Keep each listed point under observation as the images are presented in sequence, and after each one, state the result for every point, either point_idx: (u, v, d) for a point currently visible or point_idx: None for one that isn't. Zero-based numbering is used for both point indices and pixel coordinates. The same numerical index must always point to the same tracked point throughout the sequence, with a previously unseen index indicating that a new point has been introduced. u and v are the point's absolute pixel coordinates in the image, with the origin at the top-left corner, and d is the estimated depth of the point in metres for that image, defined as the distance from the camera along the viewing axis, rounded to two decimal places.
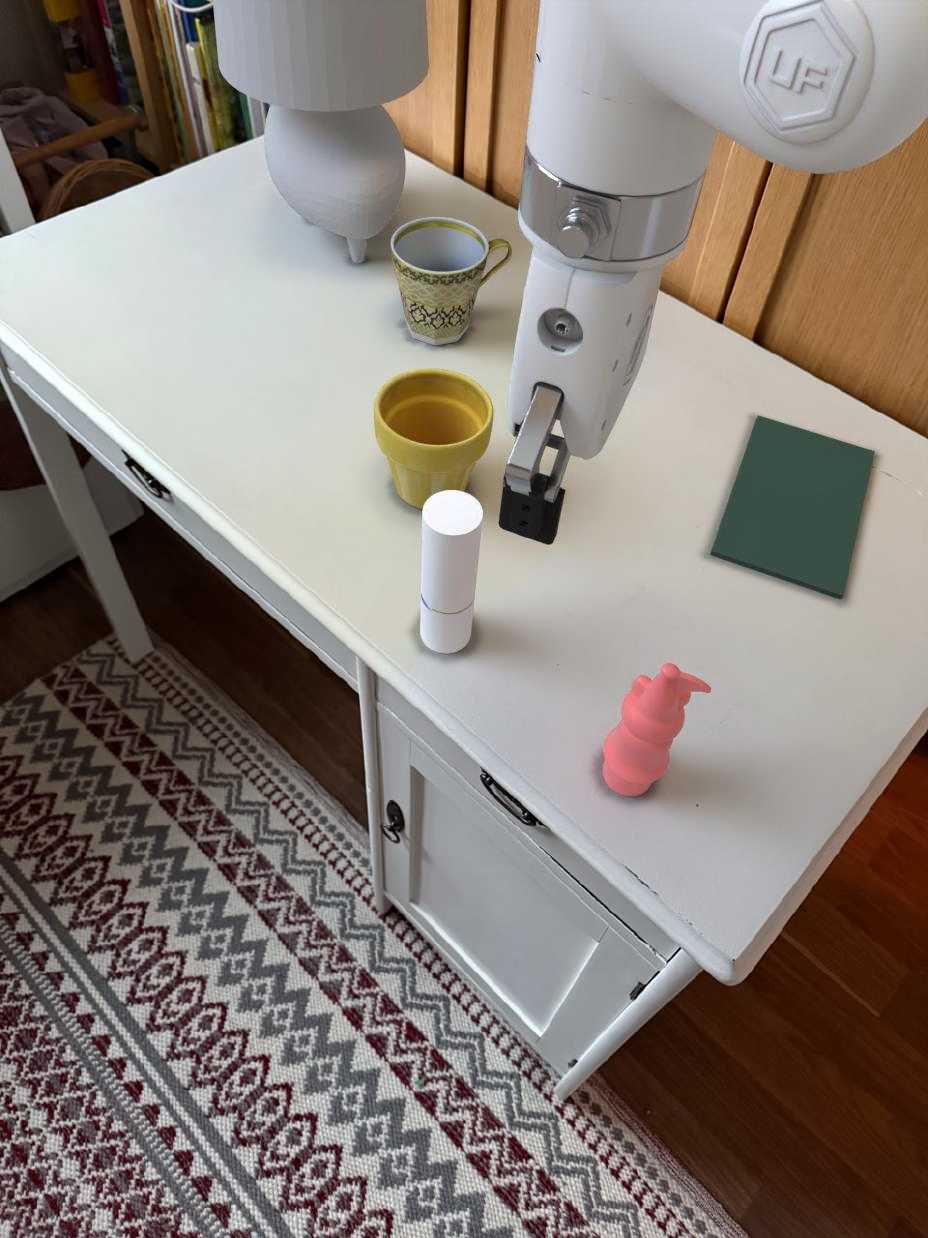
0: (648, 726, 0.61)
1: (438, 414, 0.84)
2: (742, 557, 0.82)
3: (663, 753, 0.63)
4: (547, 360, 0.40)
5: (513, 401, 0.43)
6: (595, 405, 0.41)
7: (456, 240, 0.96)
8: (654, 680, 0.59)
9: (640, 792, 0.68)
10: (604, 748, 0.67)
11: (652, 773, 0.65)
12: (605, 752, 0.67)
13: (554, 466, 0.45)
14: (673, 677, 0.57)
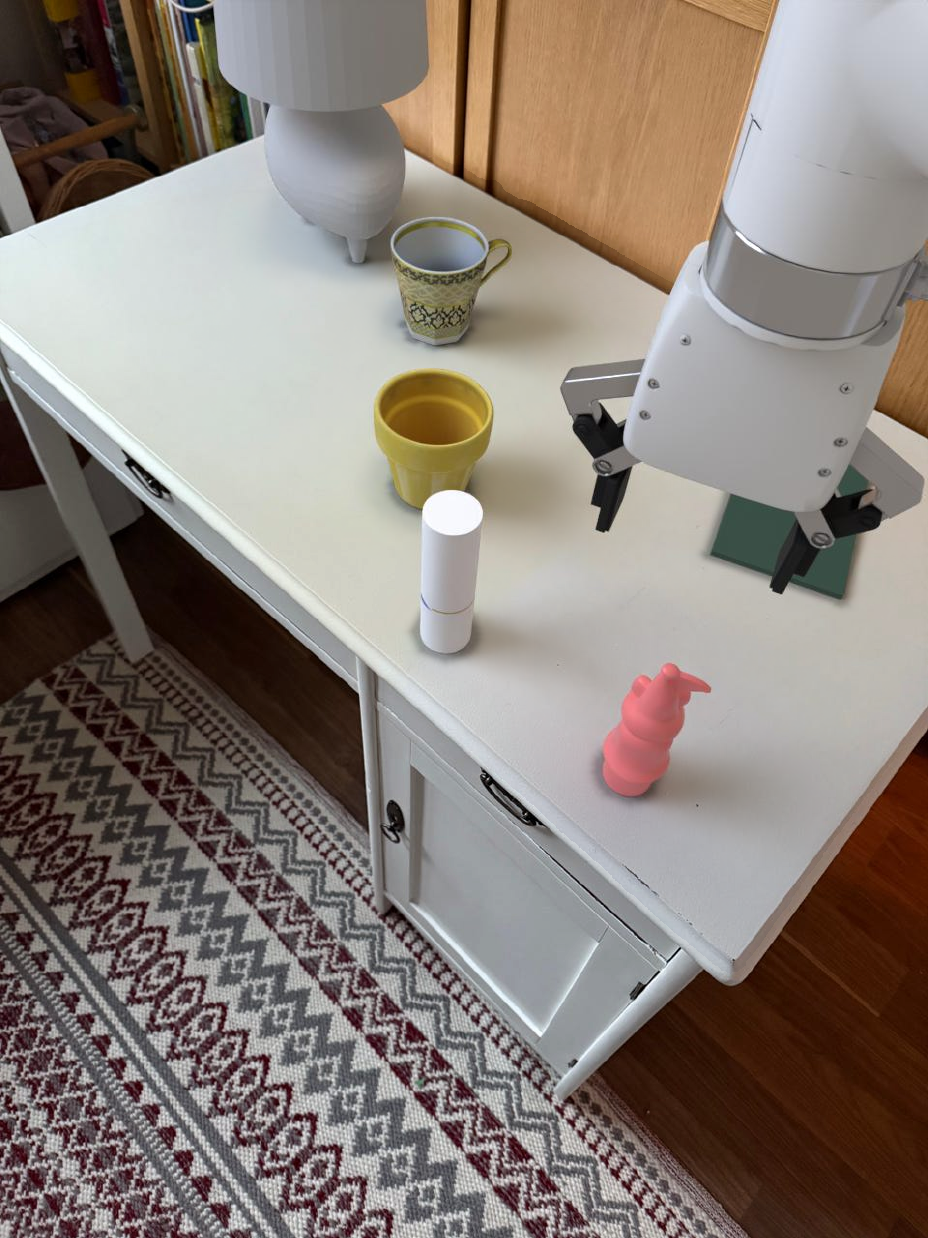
0: (648, 726, 0.61)
1: (438, 414, 0.84)
2: (742, 557, 0.82)
3: (663, 753, 0.63)
4: None
5: (840, 478, 0.40)
6: None
7: (456, 240, 0.96)
8: (654, 680, 0.59)
9: (640, 792, 0.68)
10: (604, 748, 0.67)
11: (652, 773, 0.65)
12: (605, 752, 0.67)
13: None
14: (673, 677, 0.57)
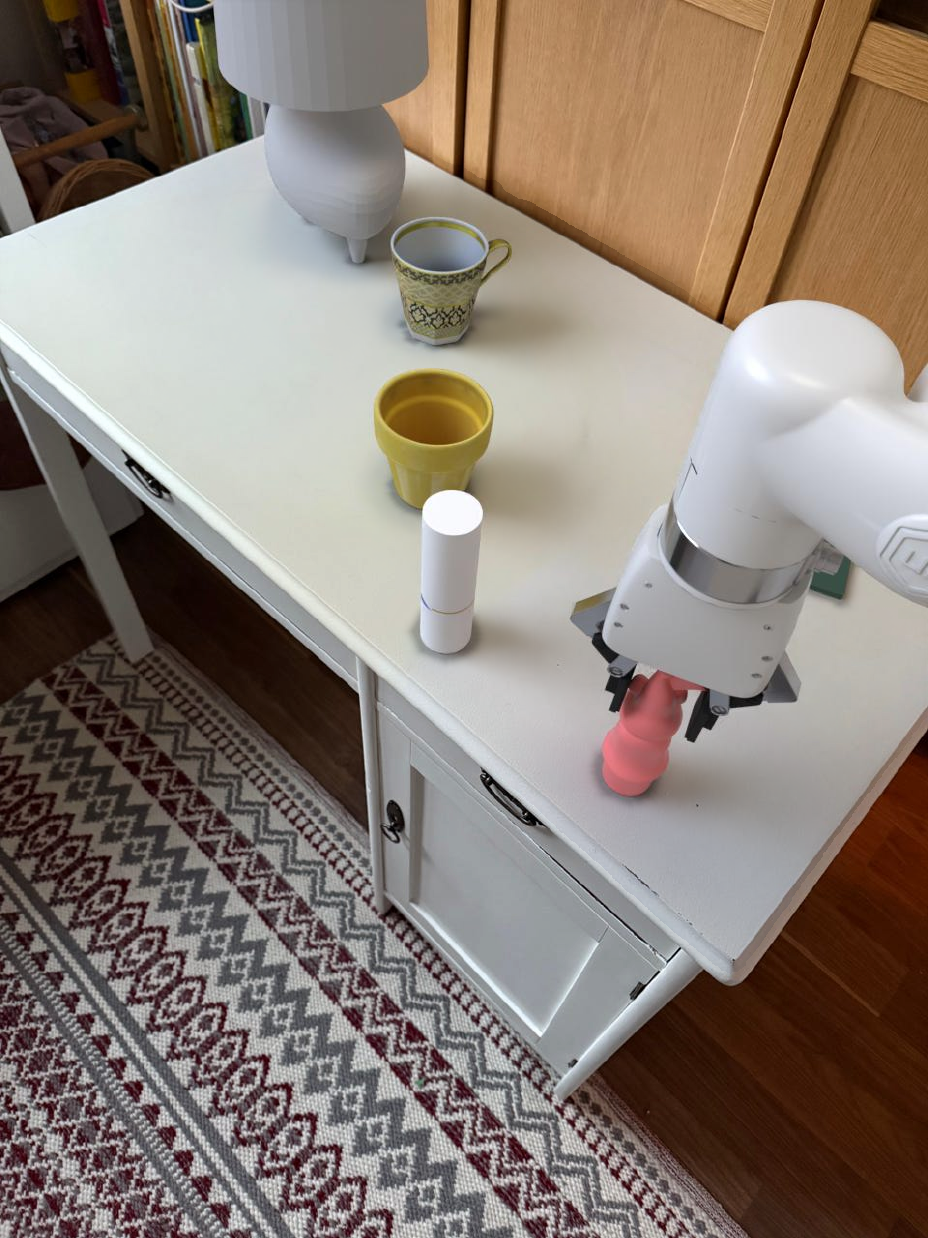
0: (645, 725, 0.61)
1: (438, 414, 0.84)
2: None
3: (661, 752, 0.63)
4: None
5: (769, 678, 0.52)
6: None
7: (456, 240, 0.96)
8: (650, 679, 0.59)
9: (640, 791, 0.68)
10: (603, 748, 0.67)
11: (651, 772, 0.65)
12: (604, 751, 0.67)
13: None
14: (669, 675, 0.57)
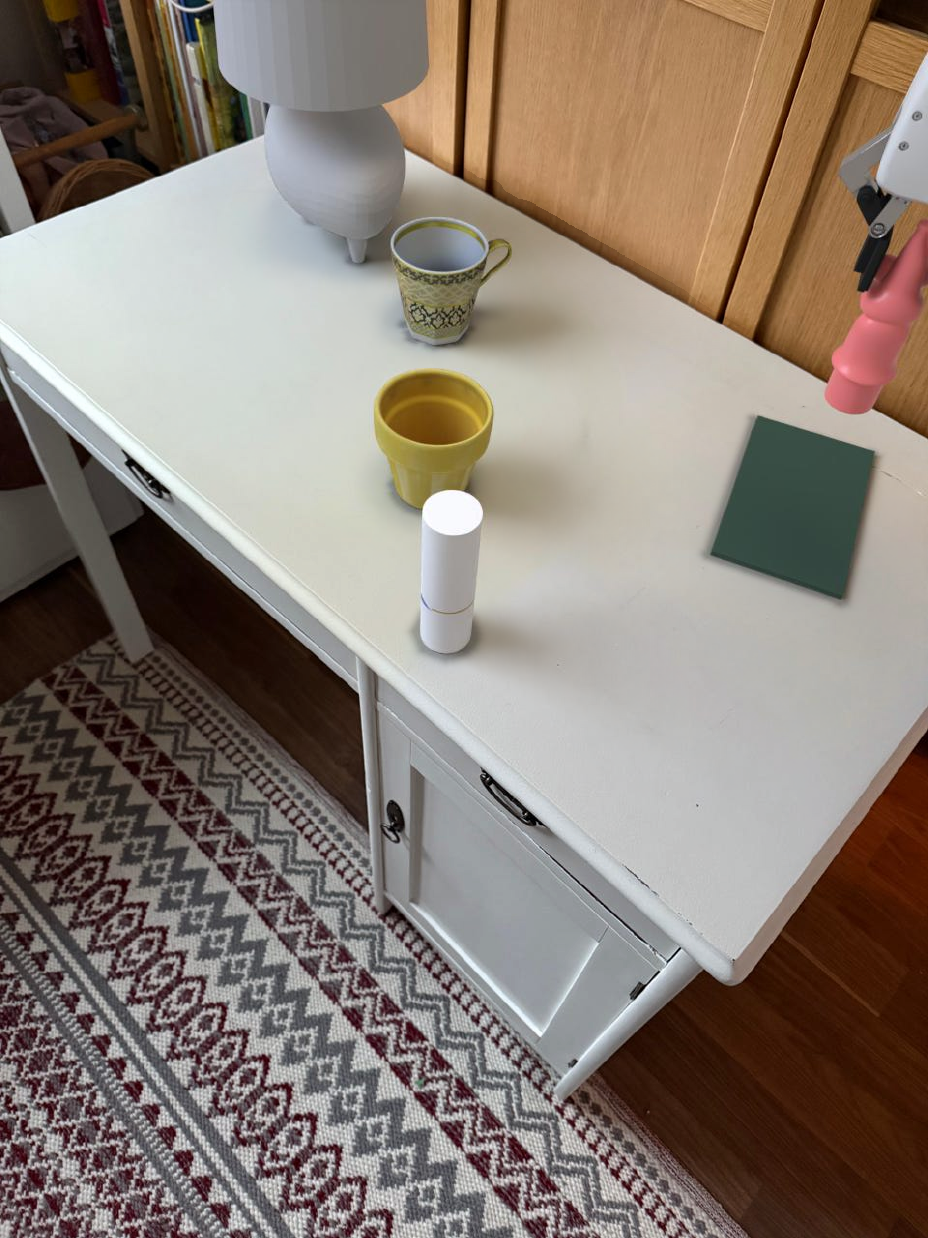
0: (894, 302, 0.64)
1: (438, 414, 0.84)
2: (742, 557, 0.82)
3: (902, 341, 0.66)
4: None
5: None
6: None
7: (456, 240, 0.96)
8: (906, 243, 0.62)
9: (866, 408, 0.71)
10: (833, 360, 0.70)
11: (885, 374, 0.68)
12: (836, 362, 0.69)
13: None
14: None
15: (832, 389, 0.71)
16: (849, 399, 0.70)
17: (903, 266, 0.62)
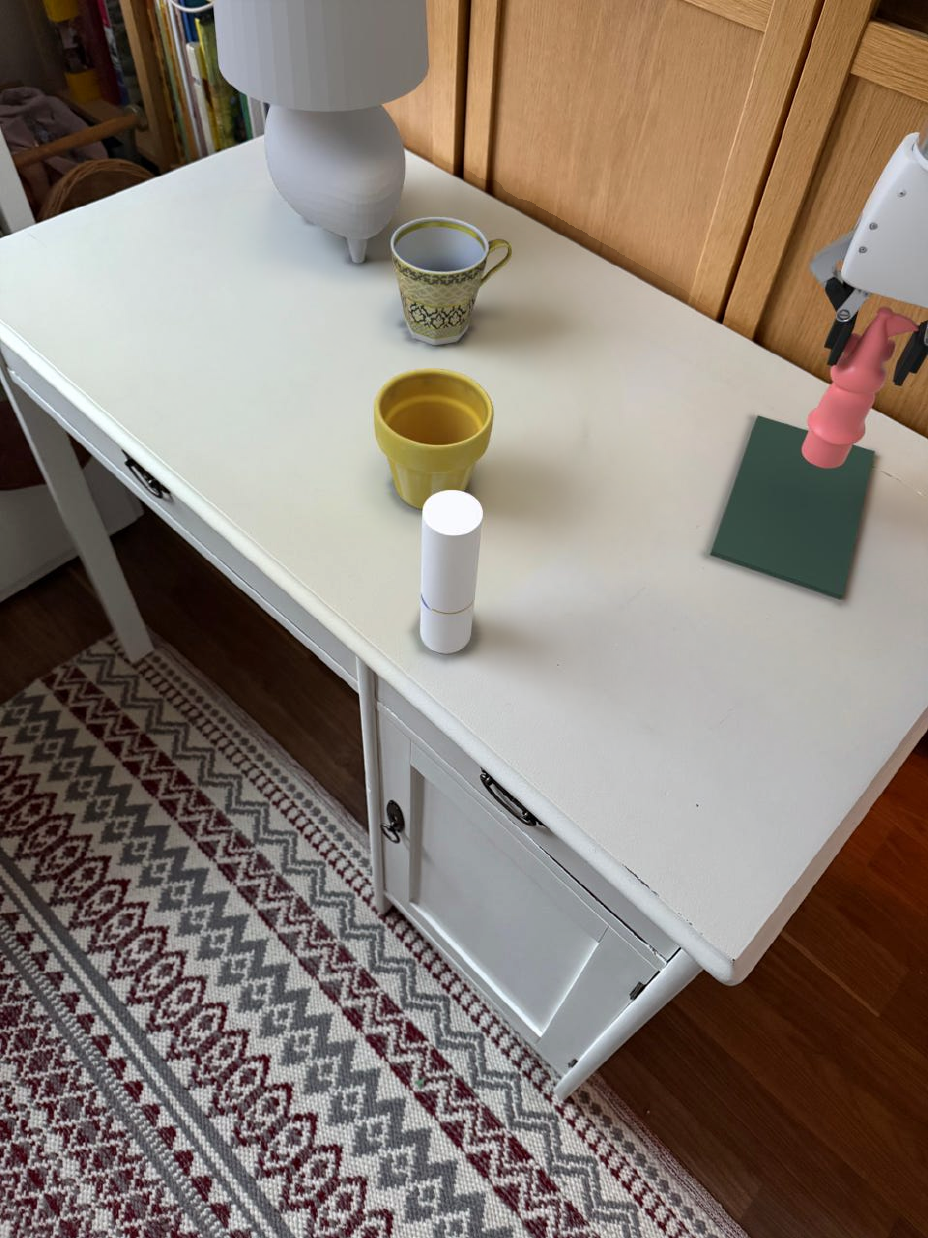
0: (859, 375, 0.73)
1: (438, 414, 0.84)
2: (742, 557, 0.82)
3: (867, 408, 0.75)
4: None
5: None
6: None
7: (456, 240, 0.96)
8: (869, 326, 0.71)
9: (838, 463, 0.80)
10: (808, 421, 0.79)
11: (853, 435, 0.77)
12: (810, 423, 0.79)
13: None
14: (889, 315, 0.69)
15: (808, 446, 0.80)
16: (823, 455, 0.79)
17: (866, 345, 0.72)
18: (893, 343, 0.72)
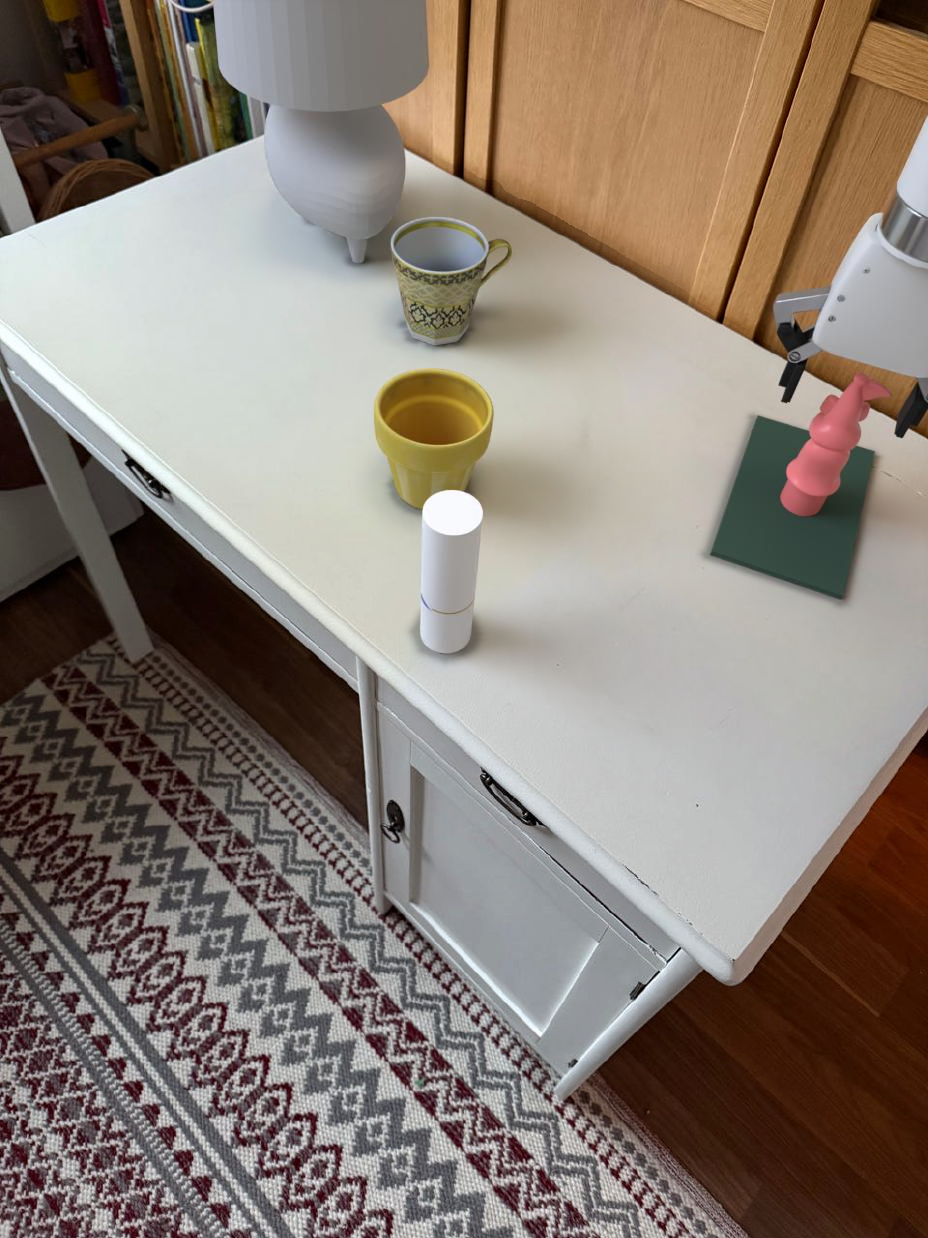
0: (835, 435, 0.78)
1: (438, 414, 0.84)
2: (742, 557, 0.82)
3: (842, 463, 0.80)
4: None
5: None
6: None
7: (456, 240, 0.96)
8: (846, 390, 0.76)
9: (814, 511, 0.85)
10: (787, 472, 0.84)
11: (829, 487, 0.82)
12: (789, 474, 0.83)
13: None
14: (864, 382, 0.74)
15: (786, 495, 0.85)
16: (800, 504, 0.84)
17: (843, 408, 0.76)
18: (868, 405, 0.77)
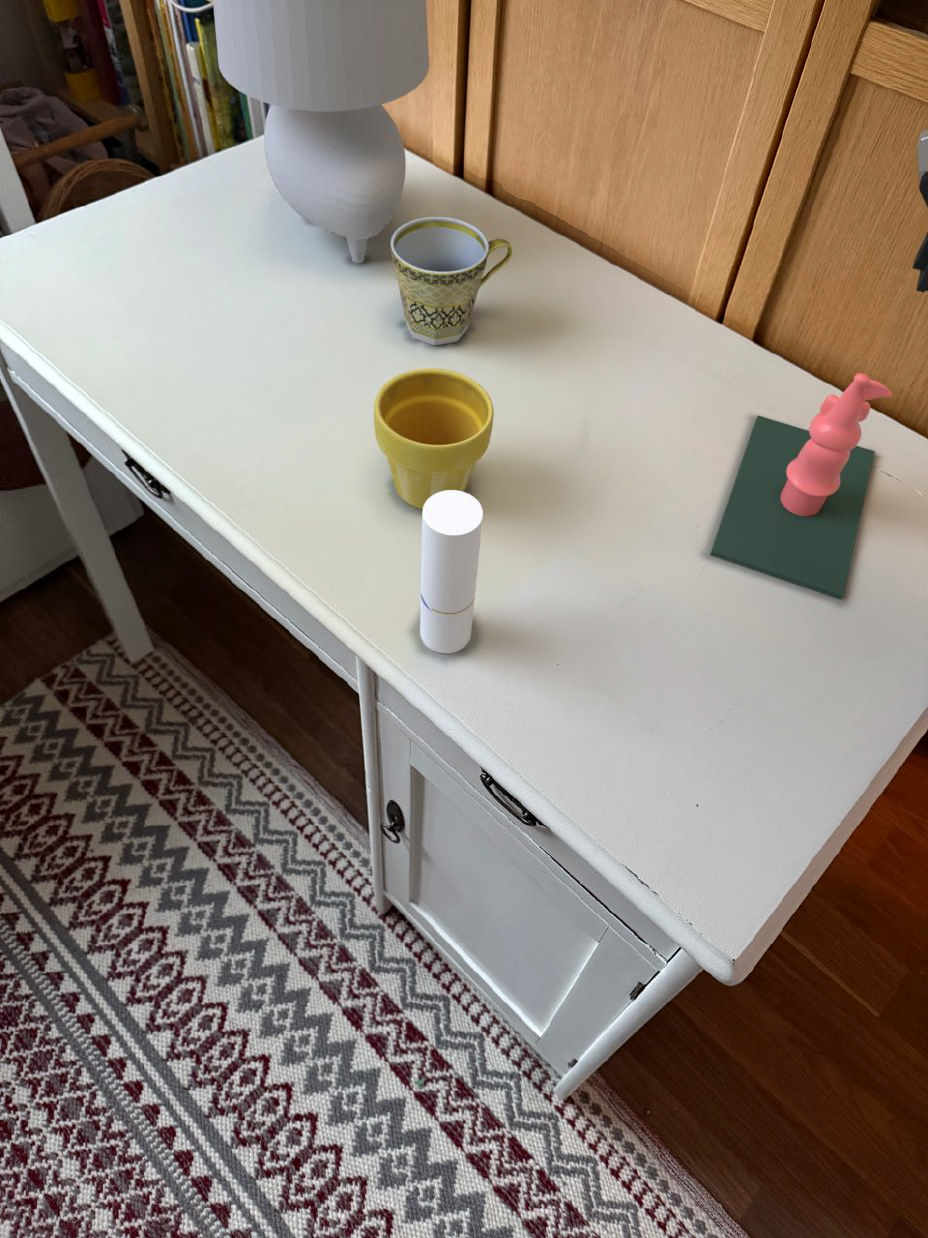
0: (835, 435, 0.78)
1: (438, 414, 0.84)
2: (742, 557, 0.82)
3: (842, 463, 0.80)
4: None
5: None
6: None
7: (456, 240, 0.96)
8: (846, 390, 0.76)
9: (814, 511, 0.85)
10: (787, 472, 0.84)
11: (829, 487, 0.82)
12: (789, 474, 0.83)
13: None
14: (864, 382, 0.74)
15: (786, 495, 0.85)
16: (800, 504, 0.84)
17: (843, 408, 0.76)
18: (868, 405, 0.77)
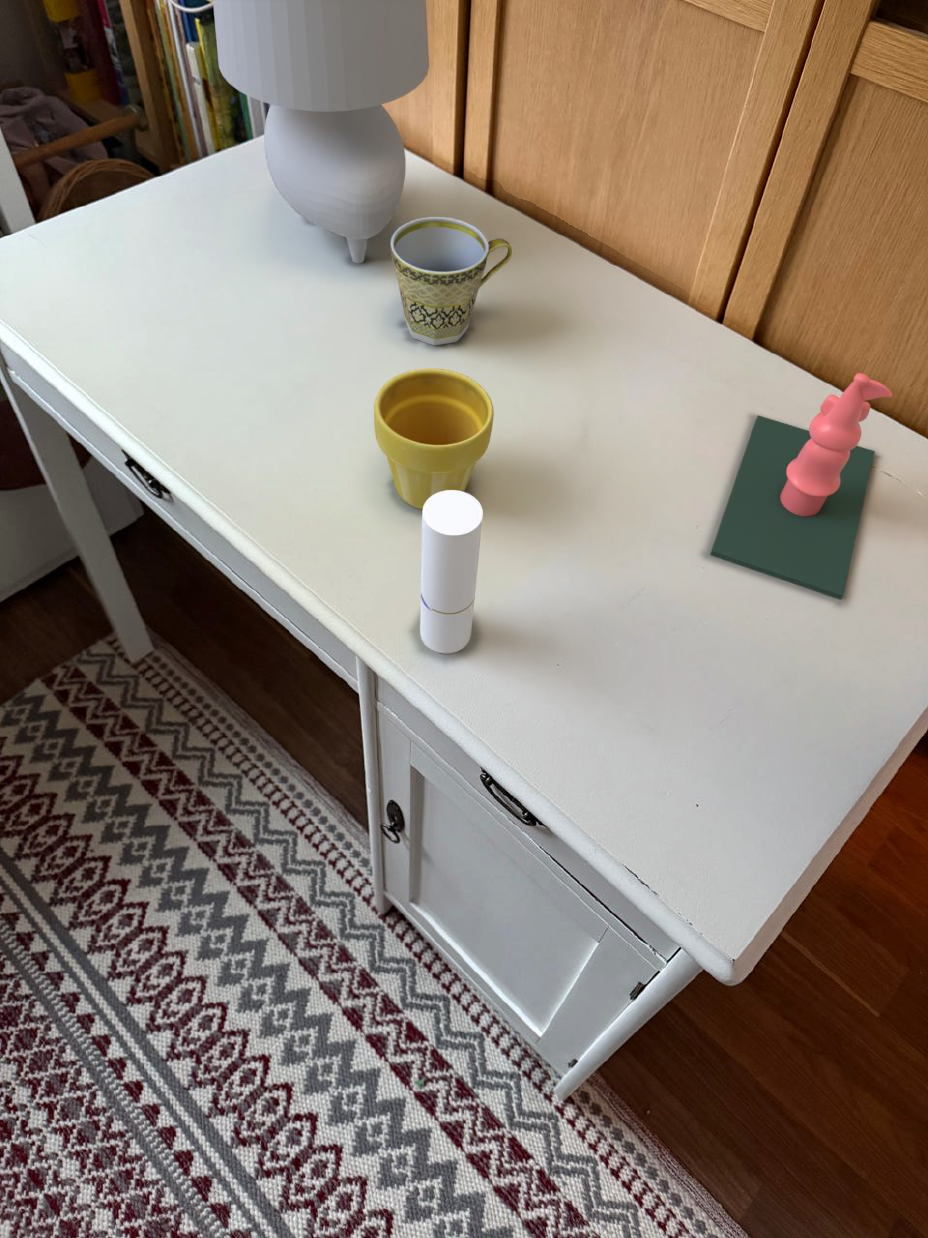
0: (835, 435, 0.78)
1: (438, 414, 0.84)
2: (742, 557, 0.82)
3: (842, 463, 0.80)
4: None
5: None
6: None
7: (456, 240, 0.96)
8: (846, 390, 0.76)
9: (814, 511, 0.85)
10: (787, 472, 0.84)
11: (829, 487, 0.82)
12: (789, 474, 0.83)
13: None
14: (864, 382, 0.74)
15: (786, 495, 0.85)
16: (800, 504, 0.84)
17: (843, 408, 0.76)
18: (868, 405, 0.77)
